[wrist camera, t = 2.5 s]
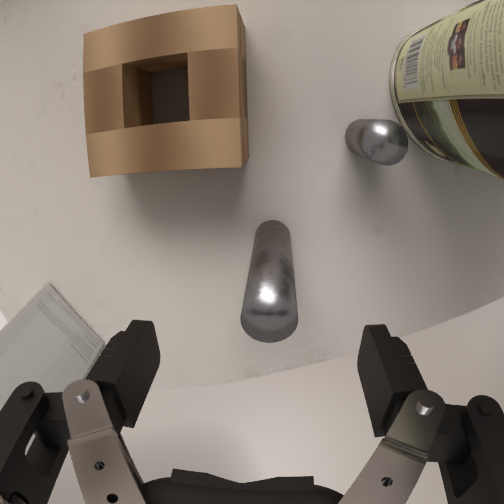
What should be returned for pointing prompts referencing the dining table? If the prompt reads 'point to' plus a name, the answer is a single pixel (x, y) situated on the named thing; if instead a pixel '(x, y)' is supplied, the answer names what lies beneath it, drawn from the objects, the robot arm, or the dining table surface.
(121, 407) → the robot arm
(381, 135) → the short pin
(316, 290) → the dining table surface
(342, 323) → the dining table surface
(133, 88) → the collar block
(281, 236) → the long pin
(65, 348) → the skincare box
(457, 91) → the coffee can
